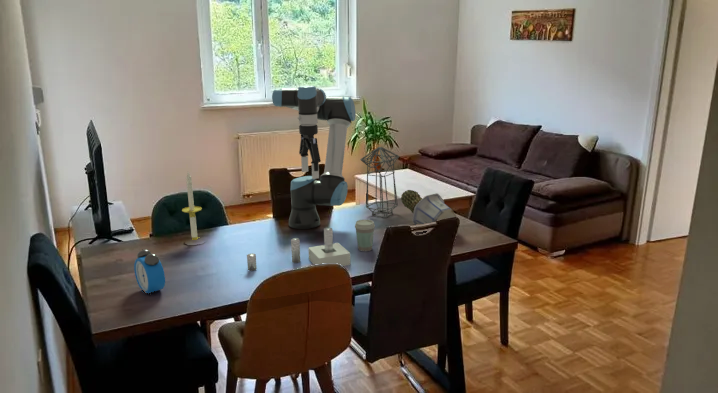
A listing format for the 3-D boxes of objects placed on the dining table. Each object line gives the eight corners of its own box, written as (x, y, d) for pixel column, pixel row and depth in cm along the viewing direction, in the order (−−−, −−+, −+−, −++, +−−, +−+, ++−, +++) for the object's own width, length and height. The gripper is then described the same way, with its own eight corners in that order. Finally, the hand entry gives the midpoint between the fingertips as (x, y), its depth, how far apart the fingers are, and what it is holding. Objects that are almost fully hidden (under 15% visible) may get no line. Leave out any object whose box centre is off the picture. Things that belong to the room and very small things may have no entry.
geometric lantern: (387, 221, 276) (385, 151, 267) (360, 216, 285) (357, 148, 275) (403, 212, 289) (401, 145, 280) (377, 208, 298) (374, 143, 288)
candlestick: (178, 244, 249) (170, 172, 240) (193, 237, 258) (186, 167, 249) (197, 247, 246) (190, 174, 237) (211, 239, 254) (204, 169, 246)
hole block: (308, 259, 230) (308, 247, 229) (338, 253, 235) (338, 242, 234) (319, 270, 219) (319, 258, 217) (350, 264, 224) (350, 253, 222)
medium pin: (291, 261, 229) (289, 238, 226) (299, 259, 230) (298, 237, 227) (293, 263, 226) (292, 241, 223) (301, 262, 227) (300, 240, 224)
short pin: (247, 268, 222) (245, 254, 220) (255, 267, 223) (254, 252, 221) (249, 271, 219) (247, 257, 217) (257, 270, 220) (256, 255, 218)
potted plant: (464, 202, 254) (421, 175, 275) (434, 211, 244) (392, 182, 265) (457, 235, 262) (416, 206, 283) (428, 245, 253) (388, 214, 274)
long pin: (323, 261, 228) (322, 228, 224) (331, 259, 229) (330, 227, 225) (326, 264, 225) (325, 230, 221) (334, 262, 226) (333, 229, 222)
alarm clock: (136, 288, 206) (131, 249, 202) (152, 283, 210) (148, 245, 206) (151, 299, 196) (146, 259, 192) (168, 294, 200) (163, 254, 196)
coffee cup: (373, 253, 236) (373, 225, 232) (353, 251, 237) (352, 224, 234) (376, 245, 244) (376, 219, 240) (357, 244, 245) (357, 218, 242)
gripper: (290, 121, 240) (292, 169, 246) (309, 129, 218) (311, 182, 224) (307, 120, 243) (309, 168, 249) (327, 127, 221) (329, 180, 226)
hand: (310, 175), depth 236 cm, fingers open, 13 cm apart
